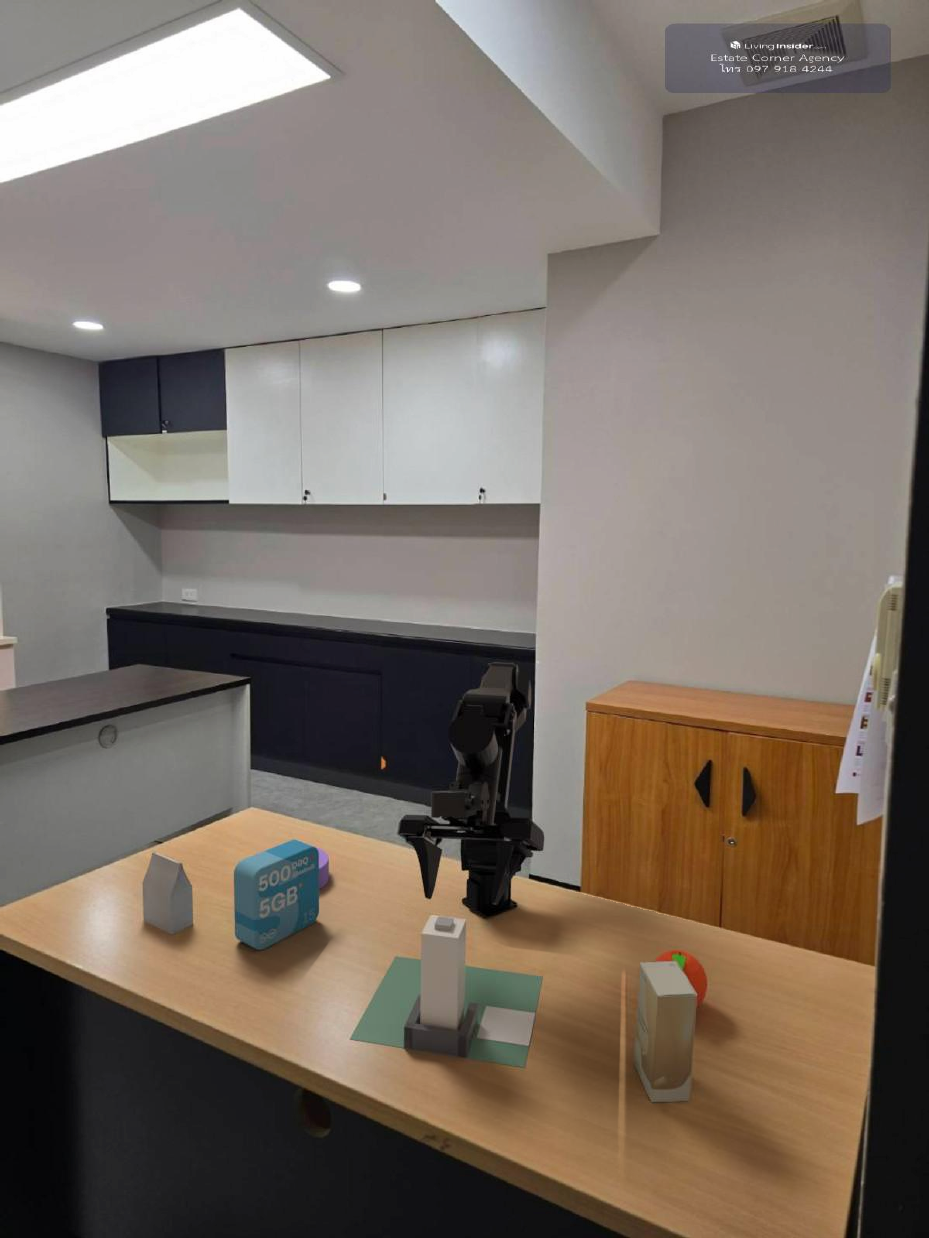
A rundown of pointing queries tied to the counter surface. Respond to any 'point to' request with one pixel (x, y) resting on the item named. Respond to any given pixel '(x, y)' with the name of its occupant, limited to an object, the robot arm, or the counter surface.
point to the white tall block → (443, 972)
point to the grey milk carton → (167, 895)
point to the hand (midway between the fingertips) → (460, 901)
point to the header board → (490, 1015)
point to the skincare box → (665, 1031)
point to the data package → (276, 893)
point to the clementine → (688, 970)
